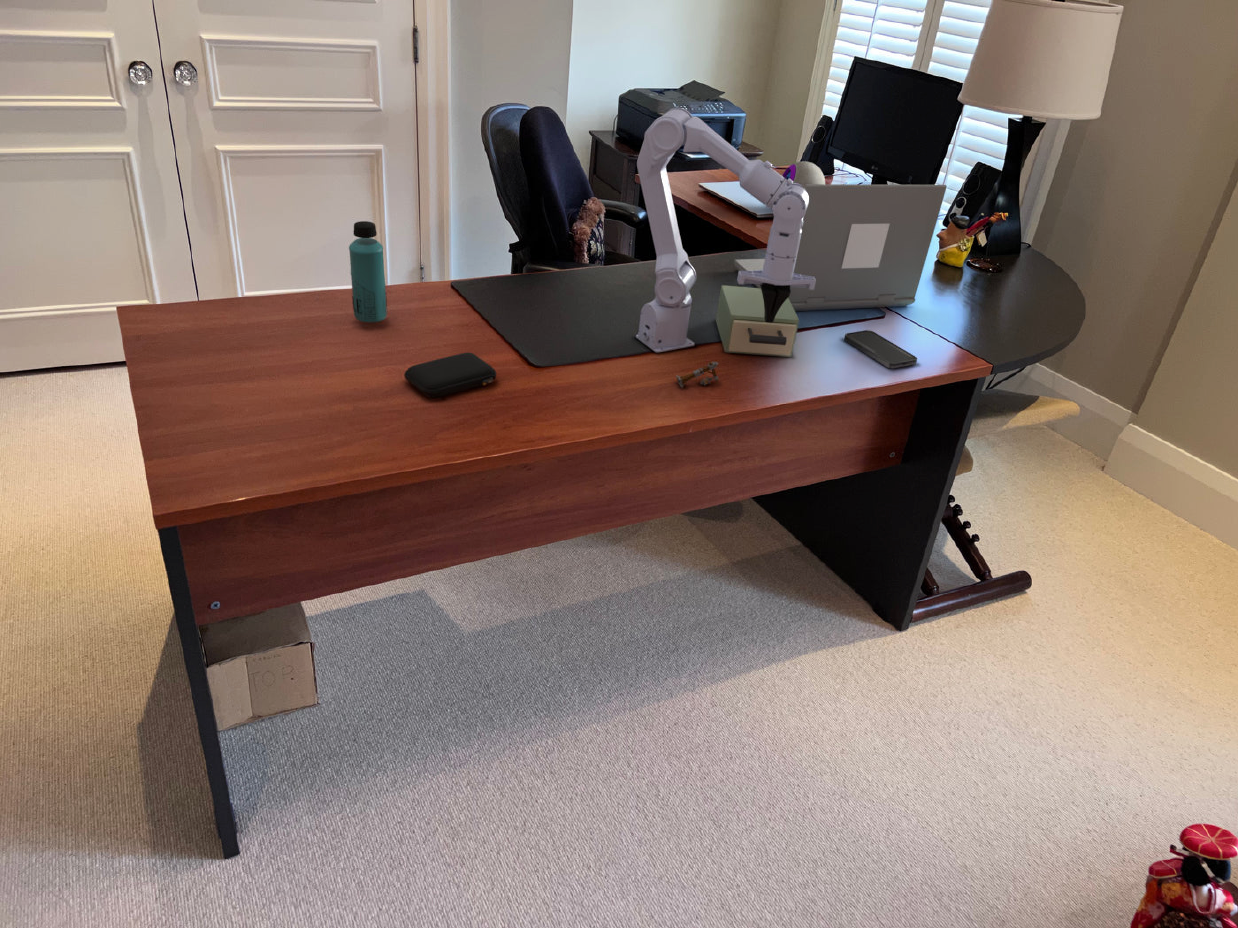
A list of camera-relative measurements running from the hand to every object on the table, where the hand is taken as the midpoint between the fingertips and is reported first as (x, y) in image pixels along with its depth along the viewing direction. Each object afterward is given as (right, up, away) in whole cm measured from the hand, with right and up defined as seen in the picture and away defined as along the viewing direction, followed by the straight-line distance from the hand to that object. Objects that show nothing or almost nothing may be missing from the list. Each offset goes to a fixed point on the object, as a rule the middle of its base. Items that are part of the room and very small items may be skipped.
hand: (768, 320), depth 175 cm
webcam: (+24, +46, +93) cm, 107 cm away
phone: (+25, -4, +14) cm, 29 cm away
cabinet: (-1, -2, +14) cm, 14 cm away
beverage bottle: (-78, 0, +3) cm, 78 cm away
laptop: (+20, +14, +42) cm, 49 cm away
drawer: (-1, -3, +10) cm, 10 cm away
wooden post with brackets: (-15, -13, -6) cm, 20 cm away
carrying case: (-58, -14, -15) cm, 62 cm away
